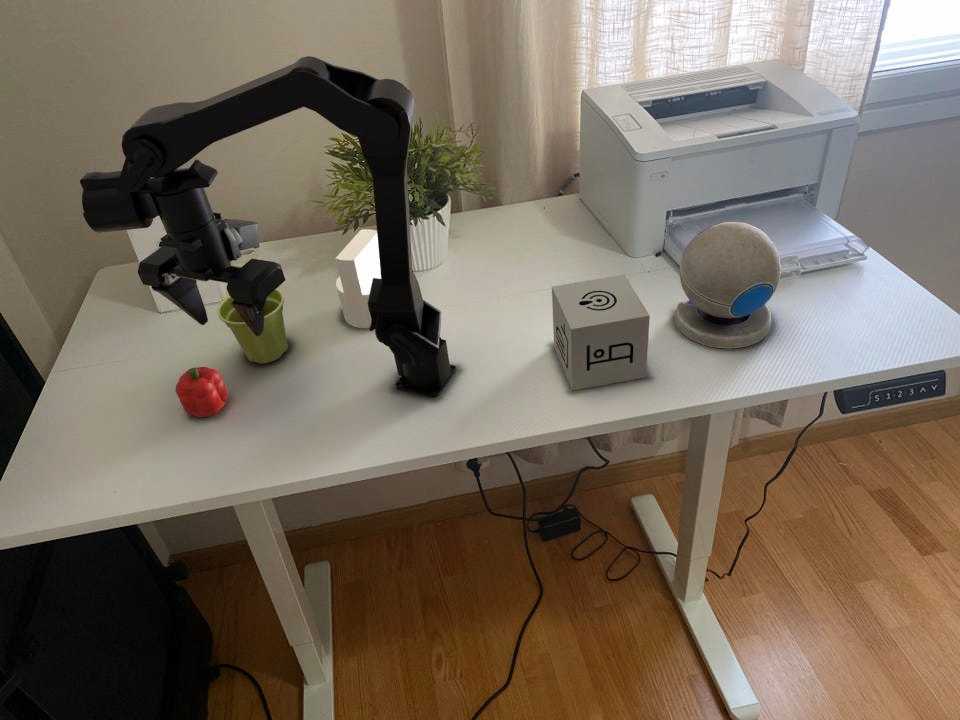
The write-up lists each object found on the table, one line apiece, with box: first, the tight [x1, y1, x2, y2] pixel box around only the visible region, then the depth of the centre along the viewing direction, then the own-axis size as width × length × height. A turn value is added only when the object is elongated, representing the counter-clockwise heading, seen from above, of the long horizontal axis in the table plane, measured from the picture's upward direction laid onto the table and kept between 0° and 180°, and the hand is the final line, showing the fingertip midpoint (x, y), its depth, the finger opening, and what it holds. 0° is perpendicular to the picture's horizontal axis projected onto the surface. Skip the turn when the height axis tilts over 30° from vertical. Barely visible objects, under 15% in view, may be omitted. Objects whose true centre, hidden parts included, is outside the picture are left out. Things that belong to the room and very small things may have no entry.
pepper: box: [175, 366, 229, 418], centre depth 98 cm, size 6×6×7 cm
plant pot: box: [216, 288, 289, 364], centre depth 107 cm, size 9×9×9 cm
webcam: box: [674, 221, 782, 349], centre depth 100 cm, size 13×13×15 cm
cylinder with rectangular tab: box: [334, 229, 381, 329], centre depth 112 cm, size 9×9×12 cm
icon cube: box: [551, 274, 651, 391], centre depth 98 cm, size 10×10×10 cm
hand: (231, 328), depth 96 cm, fingers open, 9 cm apart
